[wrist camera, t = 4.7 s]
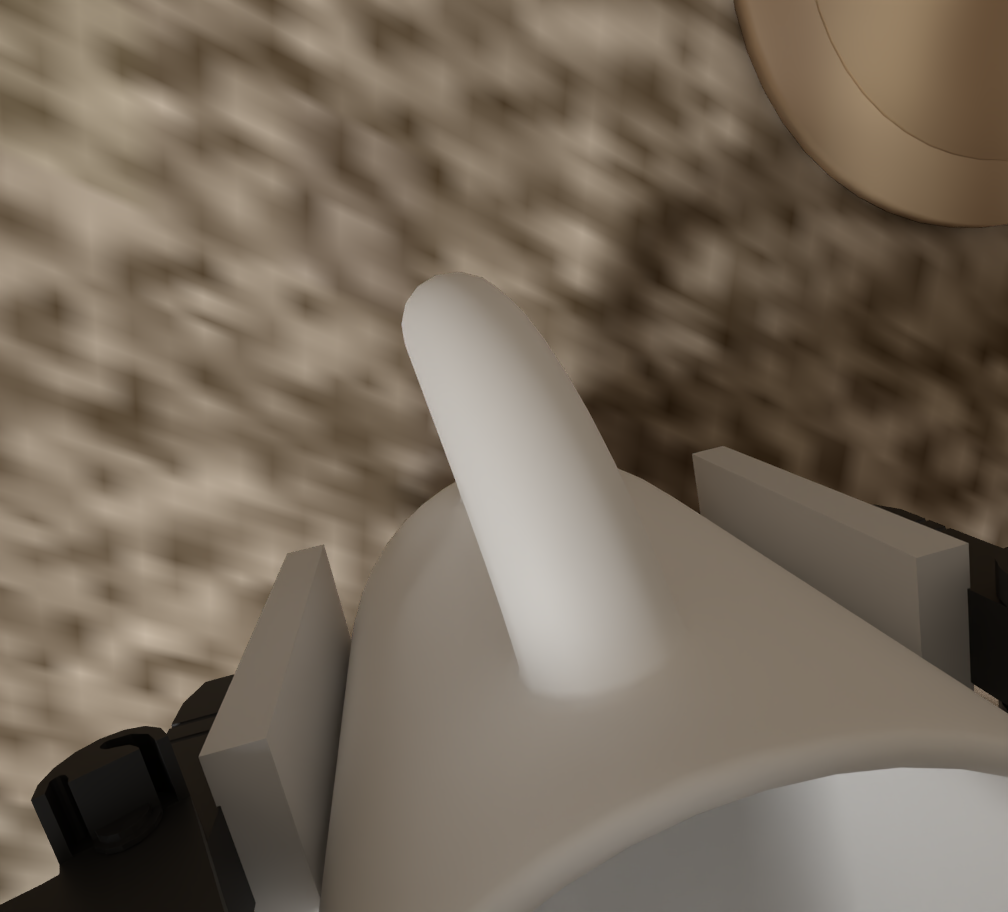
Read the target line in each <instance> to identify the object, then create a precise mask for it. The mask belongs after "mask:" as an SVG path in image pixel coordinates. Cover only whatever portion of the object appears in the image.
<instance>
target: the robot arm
mask: <svg viewBox="0 0 1008 912" xmlns="http://www.w3.org/2000/svg"><path fill="white" fill-rule="evenodd" d="M692 457H693V465H694V472H695V479H696V486H697V493H698V501H699V508H700V515H702V516H703V517H705V518H706V519H708V520H710V521H711V522H713V523H714V524H716V525H717V526H719V527H720V528H722V529H723V530H725V531H727V532H728V533H730V534H731V535H733V536H734V537H736V538H737V539H739V540H740V541H742V542H744V543H745V544H747V545H748V546H750V547H751V548H753V549H754V550H756V551H757V552H759V553H761V554H762V555H764V556H765V557H767V558H768V559H770V560H771V561H773V562H774V563H776V564H778V565H779V566H781V567H782V568H784V569H785V570H787V571H788V572H790V573H791V574H793V575H795V576H796V577H798V578H799V579H801V580H802V581H804V582H805V583H807V584H809V585H810V586H812V587H813V588H815V589H816V590H818V591H819V592H821V593H822V594H824V595H826V596H827V597H829V598H830V599H832V600H833V601H835V602H836V603H838V604H839V605H841V606H843V607H844V608H846V609H847V610H849V611H850V612H852V613H853V614H855V615H856V616H858V617H860V618H861V619H863V620H864V621H866V622H867V623H869V624H870V625H872V626H873V627H875V628H877V629H878V630H880V631H881V632H883V633H884V634H886V635H887V636H889V637H890V638H892V639H894V640H895V641H897V642H898V643H900V644H901V645H903V646H904V647H906V648H907V649H909V650H911V651H912V652H914V653H915V654H917V655H918V656H920V657H921V658H923V659H924V660H926V661H928V662H929V663H931V664H932V665H934V666H935V667H937V668H938V669H940V670H942V671H943V672H945V673H946V674H948V675H949V676H951V677H952V678H954V679H955V680H957V681H959V682H960V683H962V684H963V685H965V686H966V687H968V688H969V689H971V690H972V691H974V685H976V686H978V687H979V688H981V689H982V690H984V691H985V692H987V693H989V694H990V695H992V696H993V697H995V698H996V699H998V700H999V708H1000V709H1002V710H1003V711H1005V712H1006V713H1008V547H1006V548H1004V549H1003V548H1001V547H998V546H995V545H993V544H990V543H988V542H985V541H982V540H980V539H977V538H975V537H972V536H969V535H967V534H964V533H961V532H959V531H956V530H954V529H951V528H949V529H946V528H945V526H943V525H941V524H938V523H935V522H933V521H930V520H929V521H926V520H925V518H922V517H920V516H917V515H915V514H912V513H909V512H907V511H904V510H901V509H897V508H891V507H885V506H879V505H873V504H869V503H866V502H863V501H861V500H858V499H856V498H853V497H851V496H848V495H846V494H843V493H841V492H838V491H836V490H833V489H831V488H828V487H826V486H823V485H821V484H818V483H816V482H813V481H811V480H808V479H806V478H803V477H801V476H798V475H795V474H793V473H790V472H788V471H785V470H783V469H780V468H778V467H775V466H773V465H770V464H768V463H765V462H763V461H760V460H758V459H755V458H753V457H750V456H748V455H745V454H743V453H740V452H738V451H735V450H733V449H730V448H727V447H725V446H721V447H717V448H713V449H709V450H705V451H701V452H697V453H693V454H692ZM350 649H351V638H350V634H349V631H348V627H347V624H346V620H345V617H344V613H343V610H342V606H341V603H340V599H339V596H338V592H337V589H336V585H335V582H334V578H333V575H332V571H331V568H330V564H329V561H328V557H327V554H326V550H325V547H324V545H320V546H316V547H312V548H308V549H304V550H300V551H295V552H291V553H287V556H286V558H285V560H284V563H283V565H282V567H281V569H280V572H279V574H278V576H277V579H276V581H275V583H274V585H273V588H272V590H271V592H270V595H269V597H268V599H267V601H266V604H265V606H264V608H263V611H262V613H261V615H260V617H259V620H258V622H257V624H256V627H255V629H254V631H253V633H252V636H251V638H250V640H249V643H248V645H247V647H246V649H245V652H244V654H243V656H242V658H241V661H240V663H239V665H238V668H237V670H236V672H235V674H234V675H230V676H226V677H223V678H219V679H215V680H211V681H208V682H205V683H204V684H203V685H202V686H201V687H200V688H199V689H198V690H197V691H196V692H195V693H194V694H193V695H191V696H190V697H189V698H188V699H187V700H186V701H185V702H184V703H183V705H182V706H181V708H180V710H179V712H178V714H177V716H176V718H175V719H174V721H173V723H172V728H171V729H169V731H168V732H167V734H166V733H165V732H164V731H163V730H162V729H161V728H157V727H149V726H143V727H138V728H132V729H127V730H123V731H120V732H117V733H115V734H112V735H109V736H107V737H104V738H101V739H99V740H97V741H95V742H94V743H92V744H90V745H88V746H86V747H84V748H82V749H81V750H79V751H77V752H75V753H74V754H72V755H71V756H70V757H68V758H67V759H66V760H64V761H63V762H62V763H60V764H59V765H57V766H56V767H55V768H53V770H52V771H51V772H50V773H49V774H48V775H47V776H46V777H45V778H44V779H43V780H42V781H41V782H40V783H39V784H38V786H37V788H36V790H35V792H34V795H33V797H32V799H31V801H32V804H33V806H34V808H35V810H36V813H37V815H38V817H39V819H40V822H41V824H42V826H43V828H44V831H45V833H46V835H47V837H48V839H49V842H50V844H51V846H52V848H53V851H54V853H55V855H56V857H57V860H58V862H59V864H60V874H59V875H58V876H56V877H54V878H52V879H50V880H49V881H47V882H45V883H43V884H42V885H39V886H37V887H35V888H33V889H31V890H29V891H27V892H25V893H23V894H21V895H19V896H17V897H15V898H13V899H11V900H9V901H7V902H5V903H3V904H1V905H0V912H254V910H255V912H319V906H320V897H321V889H322V881H323V872H324V864H325V856H326V848H327V839H328V831H329V823H330V814H331V806H332V798H333V790H334V781H335V773H336V765H337V757H338V748H339V740H340V732H341V723H342V715H343V707H344V699H345V690H346V682H347V674H348V665H349V657H350Z"/></svg>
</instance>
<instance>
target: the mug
mask: <svg viewBox="0 0 1008 912" xmlns="http://www.w3.org/2000/svg"><path fill="white" fill-rule="evenodd" d="M402 330H403V336H404V341H405V346H406V348H407V351H408V354H409V357H410V359H411V362H412V365H413V367H414V370H415V373H416V375H417V378H418V381H419V384H420V386H421V389H422V392H423V394H424V397H425V400H426V402H427V405H428V408H429V410H430V413H431V416H432V418H433V421H434V424H435V427H436V429H437V432H438V435H439V437H440V440H441V443H442V445H443V448H444V451H445V454H446V456H447V459H448V462H449V464H450V467H451V470H452V473H453V475H454V478H455V481H456V482H454V483H452V484H451V485H449V486H447V487H446V488H444V489H442V490H441V491H440V492H438V493H437V494H436V495H434V496H433V497H432V498H430V499H429V500H428V501H426V502H425V503H424V504H422V505H421V506H420V507H419V508H418V509H417V510H416V511H415V512H414V513H413V514H412V515H411V516H410V517H409V518H408V519H407V520H406V521H405V522H404V523H403V524H402V525H401V527H400V528H399V529H398V530H397V532H396V533H395V534H394V536H393V537H392V538H391V539H390V541H389V542H388V543H387V545H386V547H385V549H384V550H383V552H382V554H381V555H380V557H379V559H378V561H377V562H376V564H375V566H374V567H373V569H372V571H371V574H370V576H369V579H368V581H367V583H366V586H365V588H364V591H363V593H362V597H361V601H360V604H359V608H358V612H357V616H356V619H355V623H354V628H353V634H352V641H351V649H350V657H349V665H348V674H347V682H346V690H345V699H344V707H343V715H342V723H341V732H340V740H339V748H338V757H337V765H336V773H335V781H334V790H333V798H332V806H331V814H330V823H329V831H328V839H327V848H326V856H325V864H324V872H323V881H322V889H321V897H320V906H319V912H1008V713H1006V712H1005V711H1003V710H1002V709H1000V708H999V707H997V706H996V705H994V704H993V703H991V702H989V701H988V700H986V699H985V698H983V697H982V696H980V695H979V694H977V693H976V692H974V691H972V690H971V689H969V688H968V687H966V686H965V685H963V684H962V683H960V682H959V681H957V680H955V679H954V678H952V677H951V676H949V675H948V674H946V673H945V672H943V671H942V670H940V669H938V668H937V667H935V666H934V665H932V664H931V663H929V662H928V661H926V660H924V659H923V658H921V657H920V656H918V655H917V654H915V653H914V652H912V651H911V650H909V649H907V648H906V647H904V646H903V645H901V644H900V643H898V642H897V641H895V640H894V639H892V638H890V637H889V636H887V635H886V634H884V633H883V632H881V631H880V630H878V629H877V628H875V627H873V626H872V625H870V624H869V623H867V622H866V621H864V620H863V619H861V618H860V617H858V616H856V615H855V614H853V613H852V612H850V611H849V610H847V609H846V608H844V607H843V606H841V605H839V604H838V603H836V602H835V601H833V600H832V599H830V598H829V597H827V596H826V595H824V594H822V593H821V592H819V591H818V590H816V589H815V588H813V587H812V586H810V585H809V584H807V583H805V582H804V581H802V580H801V579H799V578H798V577H796V576H795V575H793V574H791V573H790V572H788V571H787V570H785V569H784V568H782V567H781V566H779V565H778V564H776V563H774V562H773V561H771V560H770V559H768V558H767V557H765V556H764V555H762V554H761V553H759V552H757V551H756V550H754V549H753V548H751V547H750V546H748V545H747V544H745V543H744V542H742V541H740V540H739V539H737V538H736V537H734V536H733V535H731V534H730V533H728V532H727V531H725V530H723V529H722V528H720V527H719V526H717V525H716V524H714V523H713V522H711V521H710V520H708V519H706V518H705V517H703V516H702V515H700V514H699V513H697V512H696V511H694V510H693V509H691V508H689V507H688V506H686V505H685V504H683V503H682V502H680V501H679V500H677V499H676V498H674V497H672V496H671V495H669V494H667V493H666V492H664V491H662V490H660V489H659V488H657V487H655V486H654V485H652V484H650V483H649V482H647V481H645V480H643V479H642V478H639V477H637V476H635V475H632V474H630V473H628V472H625V471H623V470H620V469H618V468H617V466H616V464H615V462H614V460H613V458H612V456H611V454H610V452H609V450H608V448H607V446H606V444H605V442H604V440H603V438H602V436H601V434H600V432H599V430H598V428H597V426H596V424H595V423H594V421H593V419H592V417H591V415H590V413H589V411H588V409H587V408H586V406H585V404H584V402H583V401H582V399H581V397H580V395H579V394H578V392H577V390H576V388H575V387H574V385H573V383H572V381H571V379H570V378H569V376H568V374H567V373H566V371H565V369H564V368H563V366H562V365H561V363H560V362H559V360H558V359H557V357H556V356H555V354H554V352H553V351H552V349H551V348H550V346H549V345H548V343H547V342H546V340H545V339H544V337H543V336H542V335H541V333H540V332H539V331H538V329H537V328H536V327H535V325H534V324H533V323H532V321H531V320H530V319H529V318H528V316H527V315H526V314H525V313H524V312H523V311H522V310H521V309H520V308H519V307H518V305H517V304H516V303H515V302H514V301H513V300H512V299H511V298H509V297H508V296H507V295H506V294H504V293H503V292H502V291H501V290H499V289H498V288H497V287H496V286H494V285H493V284H491V283H490V282H488V281H487V280H485V279H484V278H482V277H478V276H475V275H471V274H467V273H463V272H455V273H448V274H441V275H435V276H433V277H432V278H430V279H428V280H427V281H425V282H424V283H422V284H421V285H419V286H418V287H417V288H416V289H415V291H414V292H413V294H412V295H411V297H410V298H409V299H408V301H407V302H406V304H405V309H404V314H403V319H402Z"/></svg>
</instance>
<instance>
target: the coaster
mask: <svg viewBox="0 0 1008 912" xmlns="http://www.w3.org/2000/svg"><path fill="white" fill-rule="evenodd" d="M734 6H735V11H736V14H737V18H738V21H739V25H740V28H741V32H742V35H743V38H744V42H745V45H746V49H747V52H748V54H749V57H750V59H751V61H752V64H753V66H754V68H755V71H756V73H757V75H758V78H759V80H760V83H761V85H762V87H763V89H764V91H765V93H766V95H767V96H768V98H769V100H770V101H771V103H772V105H773V107H774V108H775V110H776V112H777V114H778V115H779V117H780V119H781V120H782V122H783V123H784V125H785V126H786V127H787V129H788V130H789V131H790V133H791V134H792V135H793V136H794V138H795V139H796V140H797V142H798V143H799V144H800V146H801V147H802V148H803V149H804V151H805V152H806V153H807V154H808V155H809V156H810V157H811V158H812V159H813V160H814V161H815V162H816V163H817V164H818V165H819V166H820V167H821V168H822V169H823V170H824V171H825V172H826V173H827V174H828V175H829V176H831V177H832V178H833V179H835V180H836V181H837V182H839V183H840V184H841V185H843V186H844V187H846V188H847V189H848V190H850V191H851V192H852V193H854V194H855V195H857V196H858V197H860V198H862V199H864V200H866V201H867V202H869V203H871V204H873V205H875V206H877V207H879V208H881V209H883V210H885V211H887V212H889V213H892V214H895V215H898V216H901V217H904V218H907V219H910V220H913V221H916V222H921V223H926V224H932V225H938V226H944V227H964V228H982V227H989V226H996V225H1004V224H1008V0H734Z"/></svg>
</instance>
